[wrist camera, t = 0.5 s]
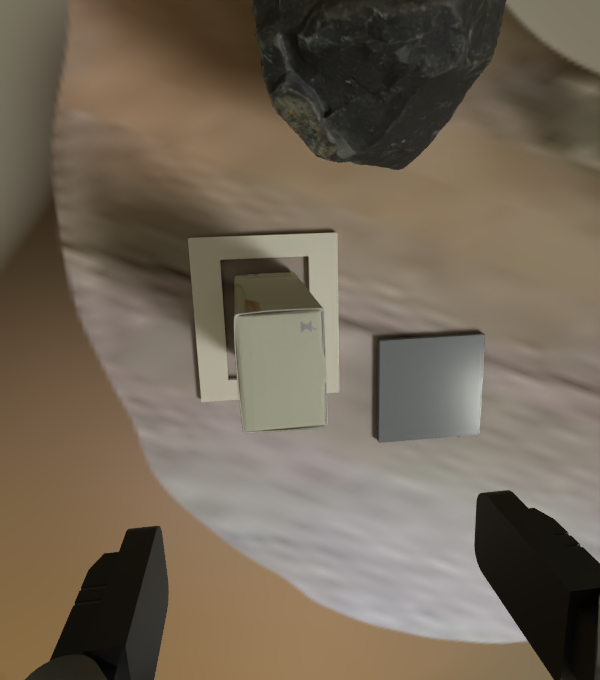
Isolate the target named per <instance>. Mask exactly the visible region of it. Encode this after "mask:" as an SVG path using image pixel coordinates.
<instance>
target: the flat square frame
mask: <svg viewBox="0 0 600 680" xmlns="http://www.w3.org/2000/svg"><path fill="white" fill-rule="evenodd" d="M188 247H189V259H190V271H191V283H192V295H193V307H194V319H195V331H196V342H197V354H198V366H199V378H200V390H201V402H209V401H223V400H238V399H239V395H238V385H237V378H228V365H227V350H226V336H225V321H224V307H223V292H222V278H221V263H220V260H227V259H252V258H276V257H300V256H308V275H309V291H310V293H311V294H312V295H313V296H314V298H315V299H316V300H317V301H318V303H319V304H320V305H321V306H322V307H323V309H324V323H325V347H326V372H327V393H336V392H339V328H338V246H337V232H335V233H307V234H280V235H252V236H225V237H197V238H188Z"/></svg>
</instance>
